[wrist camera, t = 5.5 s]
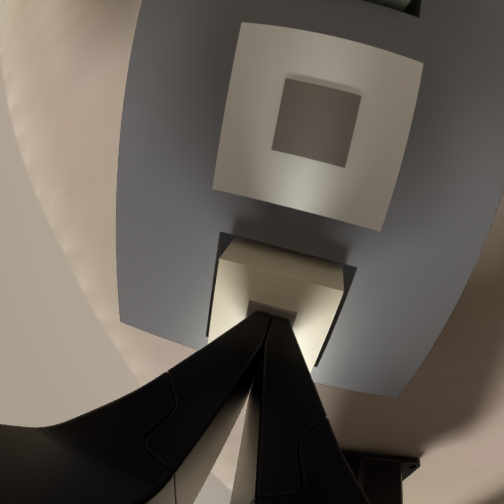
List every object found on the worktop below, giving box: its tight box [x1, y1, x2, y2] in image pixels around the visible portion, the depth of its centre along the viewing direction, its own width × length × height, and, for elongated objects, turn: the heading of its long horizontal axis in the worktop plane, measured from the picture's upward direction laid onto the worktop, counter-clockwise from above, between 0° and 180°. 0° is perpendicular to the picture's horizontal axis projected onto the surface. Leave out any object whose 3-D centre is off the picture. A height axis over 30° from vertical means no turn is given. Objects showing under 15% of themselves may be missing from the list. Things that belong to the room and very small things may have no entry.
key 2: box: [208, 236, 344, 373], centre depth 9 cm, size 3×3×3 cm
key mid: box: [212, 22, 424, 232], centre depth 6 cm, size 3×3×3 cm
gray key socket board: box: [116, 0, 504, 398], centre depth 8 cm, size 15×10×3 cm, turn 170°
